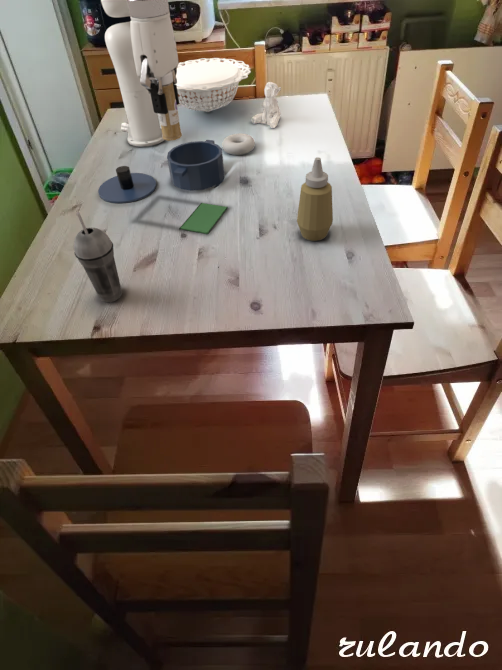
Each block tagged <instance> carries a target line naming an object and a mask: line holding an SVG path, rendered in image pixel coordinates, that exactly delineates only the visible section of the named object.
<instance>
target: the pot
mask: <svg viewBox="0 0 502 670" xmlns="http://www.w3.org/2000/svg"><path fill="white" fill-rule="evenodd" d="M166 160H167V165H168V171H169V176H170V180H171V183H172V184H173V186H174V187H176V188H178V189H180V190H184V191H192V192H193V191H203V190H208V189H211V188H214V189H215V188H217V187H219V186H220V185H221V184H223V182H224V180H225V178H226V177H225V165H224V154H223V147H222V146H220V145H219V144H217V143H216V142H215V140H214V139H205V140H196V141H189V142H184V143H180V144H178V145H176V146H174V147H172V148H171V149H170V150H169V151H168V152H167V155H166Z"/></svg>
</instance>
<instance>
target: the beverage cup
mask: <svg viewBox="0 0 502 670" xmlns="http://www.w3.org/2000/svg"><path fill="white" fill-rule="evenodd" d="M76 215H77V218H78V220H79V223H80V225H81V227H82V229H81V230H79V232H78V233H77V234H76V236H75V237H74V239H73V251H74V253H73V254H74V256H75V258H76V259H77V261H78V262H79V263H80V265H82V268H83V269H84V271H85V273H86V275H87V277H88V279H89V281H90V283H91V284H92V286H93V288H94V290H95V292H96V294H97V296H98V297H99V299H100V301H102V302H103V303H113V302H115V301H118V300H119V299H120V298H121V297H122V294H123V293H122V287H121V286H122V285H121V282H120V278H119V273H118V269H117V265H116V259H115V250H114V243H113V242H112V240H111V238H110V237H109V235H108V234H107V233H106V232H105V231H104V230H102V229H100V228H97V227H86V224H85V223H84V220H83V217H82V216H81V214H80V211H77V212H76Z"/></svg>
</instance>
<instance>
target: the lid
mask: <svg viewBox="0 0 502 670" xmlns="http://www.w3.org/2000/svg"><path fill="white" fill-rule="evenodd" d="M115 173H116V175H115V176H113V177H110V178H108V179H107V180H105V181H104V182H102V183H101V185H100V186H99V187H98V191H97V192H98V196H99V198H100V199H101V200H102V201H104V202H107V203H111V204H128V203H134V202H138V201H140V200H142V199H145V198H147V197H148V196H150V195H152V194H153V192H155V190H156V188H157V181H156V179H155V178H154V177H153V176H152V175H150V174H147V173H143V172H131V169H130V166H129V165H121V166H118V167H117V168H116V169H115Z"/></svg>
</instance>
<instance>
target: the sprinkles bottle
mask: <svg viewBox="0 0 502 670" xmlns="http://www.w3.org/2000/svg"><path fill="white" fill-rule="evenodd" d="M151 76H152V77H154V74H151ZM152 81H153V83H155V84H156V86H157V81H154V80H152ZM162 90H163V93H165V97H166V103H167V108H168V113H167V114H159V113H158V118H159V123H160V128H161V129H162V134H163V135H162V137H163V139H165V140H164V141H167V142H171V141H172V142H173V141H177V140H180V139H181V138H182V136H183V133H182V129H181V123H180V116H179V111H178V105H177V104H176V99H175V93H174V87H173V76H172V72H171V71H170V72H168V73H167V74H165V75H164V76H163V77H162Z"/></svg>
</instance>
